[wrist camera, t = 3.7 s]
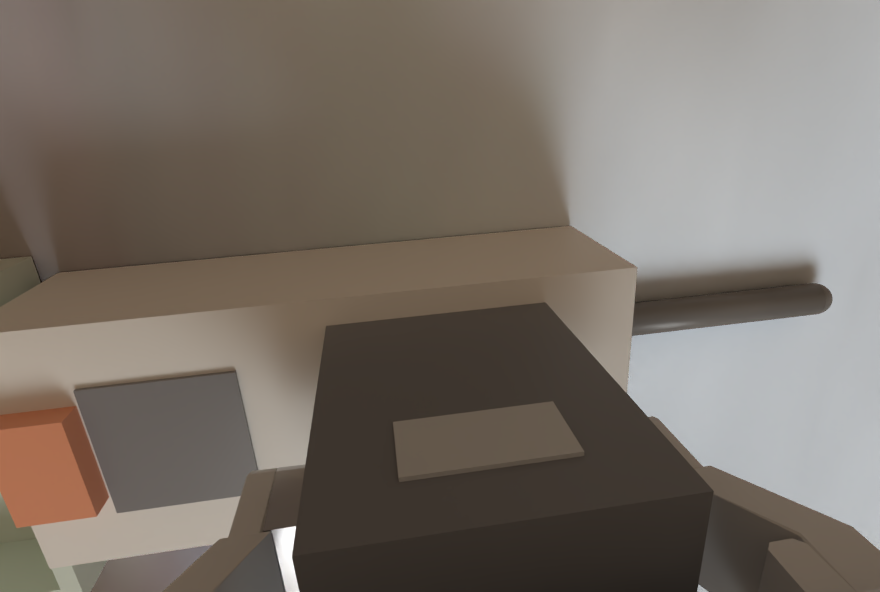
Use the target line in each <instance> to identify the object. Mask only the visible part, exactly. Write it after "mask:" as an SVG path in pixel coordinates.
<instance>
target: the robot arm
mask: <svg viewBox="0 0 880 592" xmlns="http://www.w3.org/2000/svg"><path fill="white" fill-rule="evenodd" d="M648 418H649V419H650V420H651V421H652V422H653V423H654V425H655V426H656V427H657V428H658V429H659V430H660V431H661V432H662V434H663V435H664V436H665V437H666V438H667V439H668V440H669V441H670V442H671V444H672V445H673V446H674V447H675V448H676V449H677V450H678V451H679V453H680V454H681V455H682V456H683V457H684V458H685V459H686V460H687V462H688V463H689V464H690V465H691V466H692V467H693V468H694V469H695V471H696V472H697V473H698V474H699V475H700V476H701V477H702V478H703V479H704V481H705V482H706V483H707V484H708V485H709V486H710V487H711V488H712V490H713V491H714V493H713V499H712V505H711V511H710V517H709V523H708V529H707V535H706V541H705V547H704V553H703V559H702V565H701V571H700V576H699V582H698V584H699V585H701V586H702V587H703V588H705V589H706V590H707V591H709V592H880V551H879V550H878V549H877V548H876V547H875V546H874V545H873V544H871V543H870V542H869V541H868V540H867V539H866V538H865V537H863V536H862V535H861V534H860V533H859V532H858V531H857V530H855V529H854V528H853V527H852V526H849V525H847V524H845V523H842V522H840V521H838V520H836V519H833V518H831V517H829V516H826V515H824V514H822V513H819V512H817V511H815V510H812V509H810V508H808V507H805V506H803V505H801V504H798V503H796V502H794V501H791V500H789V499H787V498H784V497H782V496H780V495H777V494H775V493H773V492H770V491H768V490H766V489H763V488H761V487H759V486H756V485H754V484H752V483H750V482H747V481H745V480H743V479H740V478H738V477H736V476H733V475H731V474H729V473H726V472H724V471H722V470H719V469H717V468H715V467H712V466H705V467H703V466H702V465H701V464H700V463H699V462H698V461H697V460H696V459H695V458H694V456H693V455H692V454H691V453H690V452H689V451H688V450H687V449H686V448H685V447H684V446H683V445H682V444H681V443H680V441H679V440H678V439H677V438H676V437H675V436H674V435H673V434H672V433H671V432H670V431H669V430H668V429H667V428H666V427H665V425H664V424H663V423H662V422H661V421H660V420H659V419H658V418H655V417H653V416H651V417H648ZM304 470H305V465H296V466H287V467H279V468H272V469H264V470H256V471H251V472H250V473H249V474H248V475H247V477H246V480H245V483H244V487H243V490H242V493H241V496H240V500H239V503H238V506H237V510H236V513H235V516H234V520H233V523H232V526H231V529H230V533H229V536H228V538H222V539H219V540H218V541H217V542H216V543H215V544H213V545H212V546H211V547H210V548H209V549H208V550H207V551H206V552H205V553H204V554H203V555H202V556H201V557H199V558H198V559H197V560H196V561H195V562H194V563H193V564H192V565H191V566H190V567H189V568H188V569H186V570H185V571H184V572H183V573H182V574H181V575H180V576H179V577H178V578H177V579H176V580H175V581H174V582H172V583H171V584H170V585H169V586H168V587H167V588H166V589H165V590H164V591H163V592H299V588H298V583H297V579H296V574H295V569H294V565H293V560H292V551H293V545H294V538H295V531H296V524H297V518H298V511H299V504H300V497H301V491H302V484H303V477H304Z"/></svg>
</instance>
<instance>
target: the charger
mask: <svg viewBox="0 0 880 592" xmlns="http://www.w3.org/2000/svg"><path fill="white" fill-rule="evenodd" d="M713 493H714V491H713V490H712V488H711V487H710V486H709V485H708V484H707V483H706V482H705V481H704V479H703V478H702V477H701V476H700V475H699V474H698V473H697V472H696V471H695V469H694V468H693V467H692V466H691V465H690V464H689V463H688V462H687V460H686V459H685V458H684V457H683V456H682V455H681V454H680V453H679V451H678V450H677V449H676V448H675V447H674V446H673V445H672V444H671V442H670V441H669V440H668V439H667V438H666V437H665V436H664V435H663V434H662V432H661V431H660V430H659V429H658V428H657V427H656V426H655V425H654V423H653V422H652V421H651V420H650V419H649V418H648V417H647V416H646V414H645V413H644V412H643V411H642V410H641V409H640V408H639V407H638V405H637V404H636V403H635V402H634V401H633V400H632V399H631V398H630V396H629V395H628V394H627V393H626V392H625V391H624V390H623V389H622V388H621V386H620V385H619V384H618V383H617V382H616V381H615V380H614V379H613V377H612V376H611V375H610V374H609V373H608V372H607V371H606V370H605V368H604V367H603V366H602V365H601V364H600V363H599V362H598V361H597V359H596V358H595V357H594V356H593V355H592V354H591V353H590V352H589V351H588V349H587V348H586V347H585V346H584V345H583V344H582V343H581V342H580V340H579V339H578V338H577V337H576V336H575V335H574V334H573V333H572V331H571V330H570V329H569V328H568V327H567V326H566V325H565V324H564V322H563V321H562V320H561V319H560V318H559V317H558V316H557V315H556V314H555V312H554V311H553V310H552V309H551V308H550V307H549V306H548V305H547V303H546V302H543V303H534V304H525V305H515V306H506V307H497V308H488V309H478V310H469V311H460V312H450V313H441V314H432V315H423V316H413V317H404V318H395V319H385V320H376V321H367V322H358V323H348V324H339V325H330V326H326V329H325V336H324V343H323V349H322V356H321V363H320V369H319V376H318V383H317V390H316V396H315V403H314V410H313V417H312V423H311V430H310V437H309V444H308V450H307V457H306V464H305V470H304V477H303V484H302V491H301V497H300V504H299V511H298V518H297V524H296V531H295V538H294V545H293V551H292V560H293V565H294V569H295V574H296V579H297V583H298V588H299V592H697V588H698V582H699V576H700V571H701V565H702V559H703V553H704V547H705V541H706V535H707V529H708V523H709V517H710V511H711V505H712V499H713Z"/></svg>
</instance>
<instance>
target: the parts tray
mask: <svg viewBox="0 0 880 592" xmlns="http://www.w3.org/2000/svg"><path fill="white" fill-rule="evenodd" d="M40 283H41V282H40V279H39V276H38V273H37V271H36V268H35V265H34V262H33V259H32V257H31V256H29V257H18V258H6V259H0V307H1V306H3V305H4V304H6V303H8V302H10V301H11V300H13V299H15V298H16V297H18V296H20V295H21V294H23V293H25V292H26V291H28V290H30V289H32V288H33V287H35V286H37V285H38V284H40ZM106 562H107V560H106V561H99V562H93V563H86V564H79V565H73V566H66V567H59V568H53V569H50V568H49V566H48V564H47V562H46V559H45V557H44V555H43V552H42V550H41V548H40V546H39V543H38V541H37V539H36V537H35V534H34V532H33V530H32V527H31V526H27V527H20V528H16V526H15V523H14V521H13V519H12V517H11V515H10V512H9V510H8V508H7V506H6V504H5V501H4V499H3V497H2V495H1V493H0V592H91V590H92V588H93V586H94V584H95V583H96V581H97V579H98V577H99V575H100V573H101V571H102V570H103V568H104V566H105V564H106Z"/></svg>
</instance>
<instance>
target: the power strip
mask: <svg viewBox="0 0 880 592" xmlns="http://www.w3.org/2000/svg"><path fill="white" fill-rule="evenodd" d="M636 279H637V267H636V266H635V265H633V264H631V263H630V262H628V261H627V260H625V259H623V258H622V257H620V256H618V255H617V254H615V253H614V252H612V251H610V250H609V249H607V248H606V247H604V246H602V245H601V244H599V243H598V242H596V241H594V240H593V239H591V238H590V237H588V236H586V235H585V234H583V233H582V232H580V231H578V230H577V229H575V228H574V227H572V226H562V227H551V228H541V229H530V230H519V231H508V232H497V233H486V234H475V235H464V236H453V237H442V238H431V239H421V240H410V241H399V242H388V243H377V244H366V245H355V246H344V247H333V248H322V249H312V250H301V251H290V252H279V253H268V254H257V255H246V256H235V257H224V258H213V259H202V260H192V261H181V262H170V263H159V264H148V265H137V266H126V267H115V268H104V269H93V270H82V271H72V272H61V273H57V274H55V275H54V276H52V277H50V278H49V279H47V280H45V281H43V282H42V283H40V284H38V285H37V286H35V287H33V288H32V289H30V290H28V291H26V292H25V293H23V294H21V295H20V296H18V297H16V298H15V299H13V300H11V301H10V302H8V303H6V304H4V305H3V306H1V307H0V493H1V495H2V497H3V499H4V501H5V504H6V506H7V508H8V510H9V512H10V515H11V517H12V519H13V521H14V523H15V526H16V528H20V527H27V526H31V527H32V530H33V532H34V534H35V537H36V539H37V541H38V543H39V546H40V548H41V550H42V552H43V555H44V557H45V559H46V562H47V564H48V566H49V568H50V569H53V568H59V567H66V566H73V565H79V564H86V563H93V562H99V561H106V560H113V559H119V558H126V557H133V556H139V555H146V554H153V553H159V552H166V551H173V550H180V549H186V548H193V547H200V546H206V545H213V544H215V543H216V542H217V541H218V540H219V539H222V538H228V536H229V533H230V529H231V526H232V523H233V520H234V516H235V513H236V510H237V506H238V503H239V500H240V496H241V493H242V490H243V487H244V483H245V480H246V477H247V475H248V474H249V473H250V472H251V471H256V470H264V469H272V468H279V467H287V466H296V465H305V464H306V457H307V450H308V444H309V437H310V430H311V423H312V417H313V410H314V403H315V396H316V390H317V383H318V376H319V369H320V363H321V356H322V349H323V343H324V336H325V329H326V326H330V325H339V324H348V323H358V322H367V321H376V320H385V319H395V318H404V317H413V316H423V315H432V314H441V313H450V312H460V311H469V310H478V309H488V308H497V307H506V306H515V305H525V304H534V303H543V302H546V303H547V305H548V306H549V307H550V308H551V309H552V310H553V311H554V312H555V314H556V315H557V316H558V317H559V318H560V319H561V320H562V321H563V322H564V324H565V325H566V326H567V327H568V328H569V329H570V330H571V331H572V333H573V334H574V335H575V336H576V337H577V338H578V339H579V340H580V342H581V343H582V344H583V345H584V346H585V347H586V348H587V349H588V351H589V352H590V353H591V354H592V355H593V356H594V357H595V358H596V359H597V361H598V362H599V363H600V364H601V365H602V366H603V367H604V368H605V370H606V371H607V372H608V373H609V374H610V375H611V376H612V377H613V379H614V380H615V381H616V382H617V383H618V384H619V385H620V386H621V388H622V389H623V390H624V391H625V392H626V393H627V385H628V373H629V361H630V349H631V338H632V336H635V335H644V334H652V333H661V332H669V331H678V330H686V329H695V328H703V327H712V326H720V325H729V324H737V323H746V322H754V321H763V320H771V319H780V318H789V317H797V316H806V315H814V314H820V313H822V312H824V311H826V310H827V309H828V308H829V307H830V305H831V304H832V294H831V292H830V291H829V290H828V288H826V287H825V286H823V285H821V284H817V283H810V284H801V285H792V286H782V287H773V288H764V289H755V290H746V291H737V292H728V293H719V294H710V295H701V296H692V297H682V298H673V299H664V300H655V301H646V302H637V303H634V302H635V291H636Z"/></svg>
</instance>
